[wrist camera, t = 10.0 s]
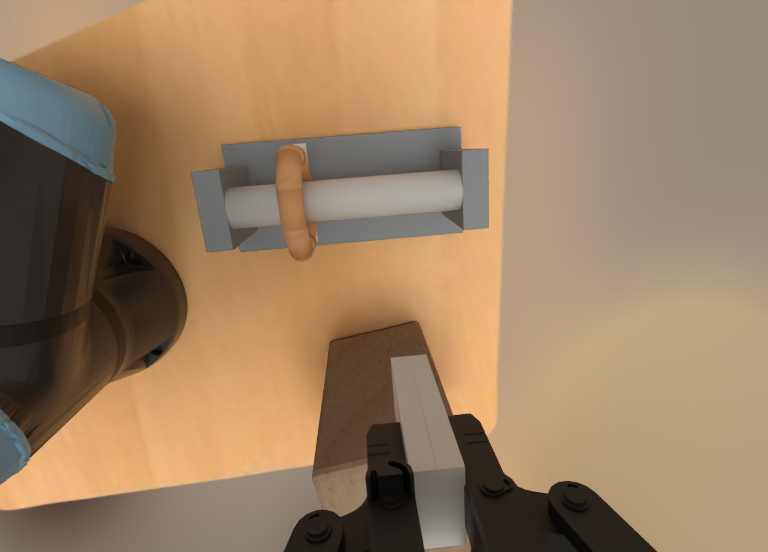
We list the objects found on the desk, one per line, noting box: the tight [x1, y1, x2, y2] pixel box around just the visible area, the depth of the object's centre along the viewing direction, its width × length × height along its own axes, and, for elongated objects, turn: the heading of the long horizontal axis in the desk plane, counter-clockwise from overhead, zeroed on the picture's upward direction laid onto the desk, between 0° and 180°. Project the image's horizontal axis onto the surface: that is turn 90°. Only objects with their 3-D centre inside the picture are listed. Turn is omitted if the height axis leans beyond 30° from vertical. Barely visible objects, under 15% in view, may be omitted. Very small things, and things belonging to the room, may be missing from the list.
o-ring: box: [276, 145, 317, 261], centre depth 33 cm, size 2×9×9 cm, turn 5°
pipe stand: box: [191, 127, 489, 252], centre depth 37 cm, size 22×10×10 cm, turn 94°
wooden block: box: [312, 322, 471, 552], centre depth 38 cm, size 10×10×20 cm
